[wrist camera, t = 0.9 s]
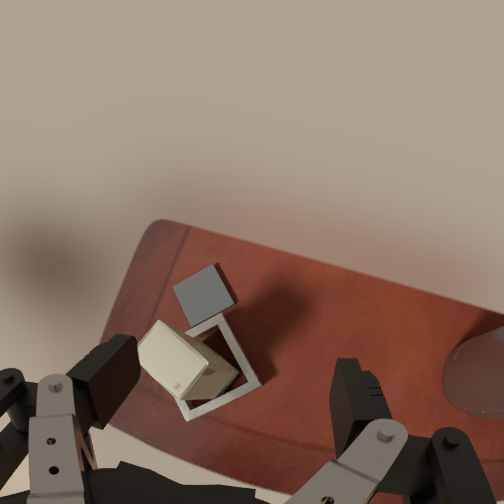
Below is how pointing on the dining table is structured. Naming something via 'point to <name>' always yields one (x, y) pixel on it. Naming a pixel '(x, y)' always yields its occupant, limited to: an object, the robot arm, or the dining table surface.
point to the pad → (203, 296)
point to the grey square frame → (243, 361)
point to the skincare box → (184, 364)
